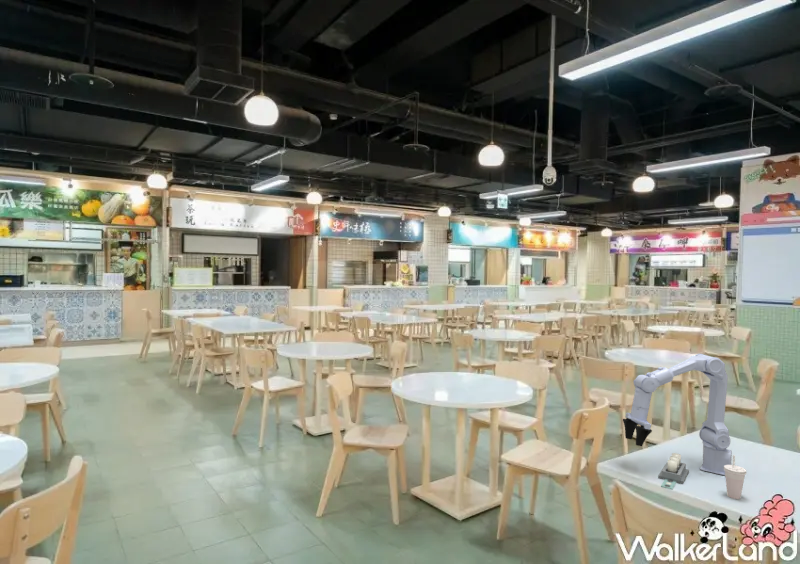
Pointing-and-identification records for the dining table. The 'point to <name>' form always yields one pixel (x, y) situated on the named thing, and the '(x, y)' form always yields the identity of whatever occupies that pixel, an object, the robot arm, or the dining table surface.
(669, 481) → the card
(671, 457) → the button mid
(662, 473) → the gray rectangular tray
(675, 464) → the button
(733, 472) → the smoothie
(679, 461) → the button
